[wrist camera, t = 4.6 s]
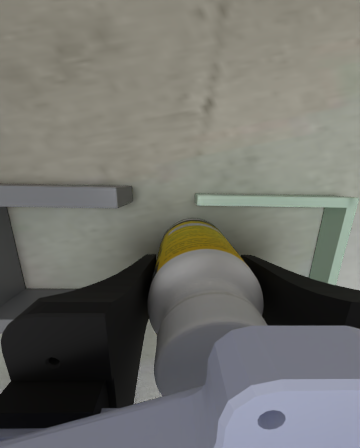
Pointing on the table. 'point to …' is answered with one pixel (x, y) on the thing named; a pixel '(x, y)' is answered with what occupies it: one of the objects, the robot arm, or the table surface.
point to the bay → (41, 197)
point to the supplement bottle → (197, 301)
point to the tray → (329, 231)
